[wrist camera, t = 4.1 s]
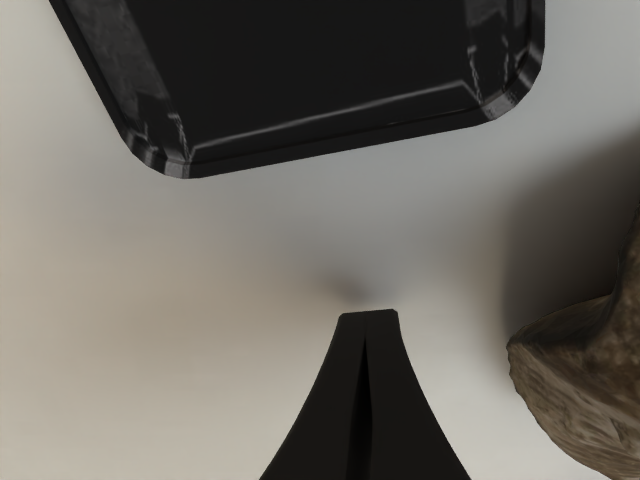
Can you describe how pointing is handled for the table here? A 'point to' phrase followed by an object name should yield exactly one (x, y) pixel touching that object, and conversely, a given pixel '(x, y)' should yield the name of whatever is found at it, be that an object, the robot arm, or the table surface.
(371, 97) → the phone
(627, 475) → the fossilized seashell
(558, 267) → the table surface
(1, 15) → the table surface
